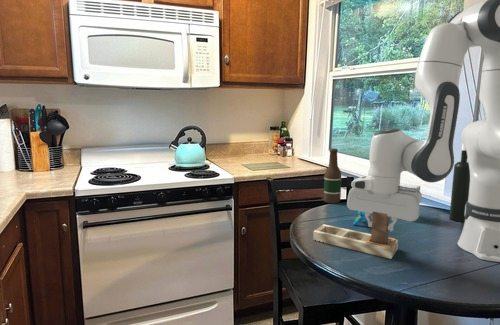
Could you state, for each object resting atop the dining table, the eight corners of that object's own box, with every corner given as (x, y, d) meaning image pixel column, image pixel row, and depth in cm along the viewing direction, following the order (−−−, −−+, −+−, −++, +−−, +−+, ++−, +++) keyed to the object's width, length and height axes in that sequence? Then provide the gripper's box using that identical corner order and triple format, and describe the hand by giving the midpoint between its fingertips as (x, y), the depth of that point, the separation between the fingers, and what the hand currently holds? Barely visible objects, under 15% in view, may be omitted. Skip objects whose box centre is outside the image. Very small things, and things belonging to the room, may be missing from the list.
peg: (387, 242, 105) (390, 210, 103) (384, 246, 102) (386, 214, 100) (374, 239, 107) (376, 208, 105) (370, 243, 104) (372, 211, 102)
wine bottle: (463, 223, 127) (471, 142, 121) (446, 219, 131) (454, 141, 126) (469, 219, 130) (477, 141, 125) (452, 216, 135) (460, 139, 129)
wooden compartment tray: (397, 249, 106) (398, 238, 105) (391, 258, 99) (392, 248, 99) (323, 232, 120) (323, 223, 119) (313, 240, 113) (313, 230, 113)
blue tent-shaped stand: (376, 227, 119) (356, 205, 121) (363, 238, 121) (343, 216, 123) (375, 221, 130) (356, 201, 132) (363, 231, 131) (344, 211, 133)
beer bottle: (321, 199, 160) (322, 147, 155) (337, 198, 160) (339, 147, 156) (326, 204, 152) (327, 150, 148) (343, 203, 153) (345, 149, 148)
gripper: (424, 186, 98) (420, 232, 100) (353, 177, 110) (351, 219, 112) (420, 191, 93) (415, 239, 95) (346, 181, 104) (344, 224, 107)
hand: (380, 228), depth 104 cm, fingers closed on peg, 4 cm apart
